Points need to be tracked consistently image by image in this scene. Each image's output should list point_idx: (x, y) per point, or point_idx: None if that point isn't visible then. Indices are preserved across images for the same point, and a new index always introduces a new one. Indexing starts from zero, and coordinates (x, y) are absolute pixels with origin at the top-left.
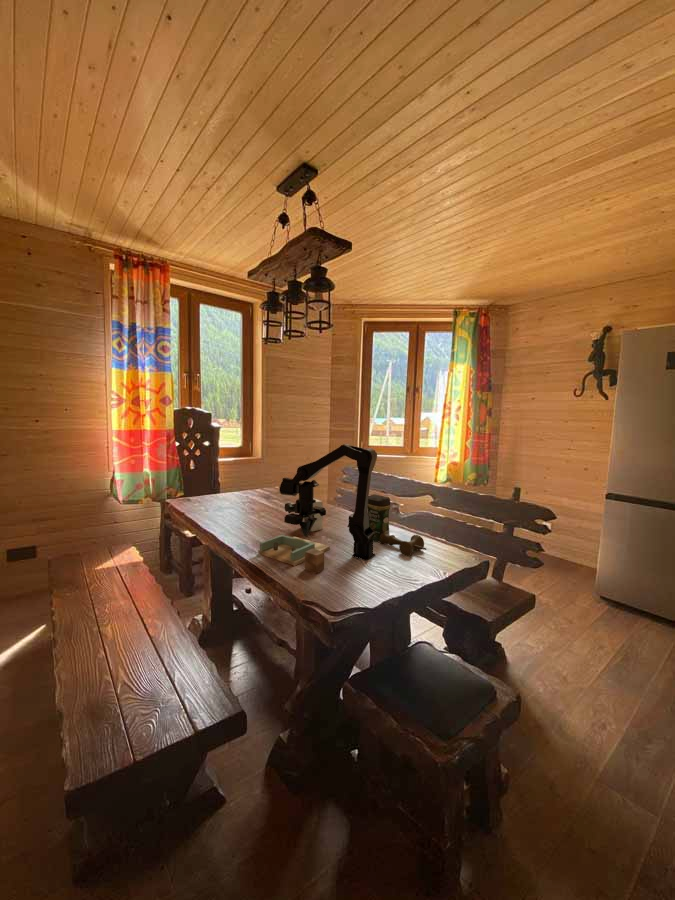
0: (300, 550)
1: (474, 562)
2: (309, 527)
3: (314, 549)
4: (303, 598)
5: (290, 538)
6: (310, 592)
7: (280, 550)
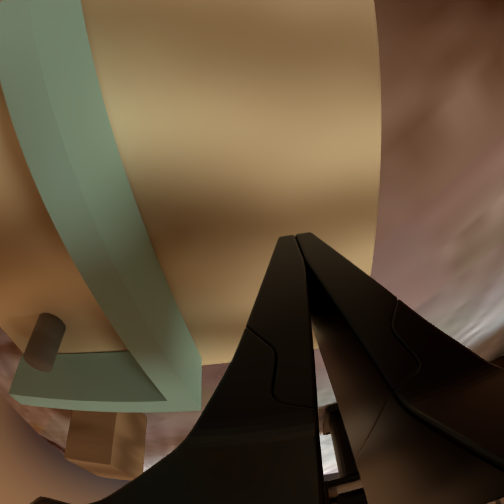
0: (65, 405)
1: None
2: (342, 405)
3: (113, 468)
4: (39, 433)
5: (48, 211)
6: (57, 434)
7: None
